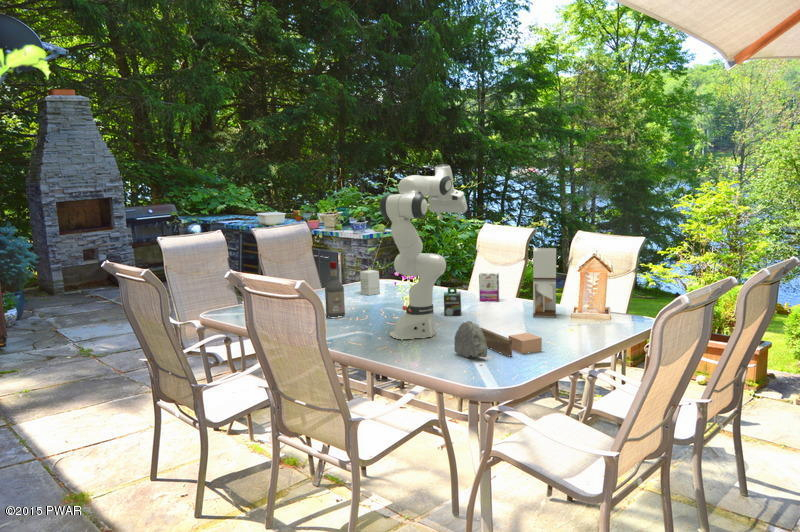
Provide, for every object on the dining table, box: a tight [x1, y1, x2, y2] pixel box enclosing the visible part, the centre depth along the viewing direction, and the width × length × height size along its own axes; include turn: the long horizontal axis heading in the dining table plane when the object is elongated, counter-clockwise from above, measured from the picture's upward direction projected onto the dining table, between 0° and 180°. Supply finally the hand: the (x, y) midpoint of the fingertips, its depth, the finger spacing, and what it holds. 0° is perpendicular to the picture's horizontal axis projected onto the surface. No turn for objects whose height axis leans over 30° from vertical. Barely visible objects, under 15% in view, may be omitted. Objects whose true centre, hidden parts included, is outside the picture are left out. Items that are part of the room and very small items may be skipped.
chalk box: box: [443, 287, 462, 317], centre depth 340 cm, size 9×9×15 cm
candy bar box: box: [478, 272, 500, 302], centre depth 370 cm, size 11×5×16 cm, turn 73°
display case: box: [532, 247, 557, 319], centre depth 328 cm, size 11×11×35 cm
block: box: [508, 332, 543, 354], centre depth 270 cm, size 10×10×6 cm
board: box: [480, 327, 513, 357], centre depth 272 cm, size 2×24×7 cm, turn 25°
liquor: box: [324, 261, 346, 318], centre depth 341 cm, size 9×9×30 cm
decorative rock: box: [453, 320, 488, 359], centre depth 262 cm, size 16×7×15 cm, turn 33°
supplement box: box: [359, 269, 381, 296], centre depth 402 cm, size 9×9×15 cm
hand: (449, 219), depth 327 cm, fingers open, 8 cm apart
